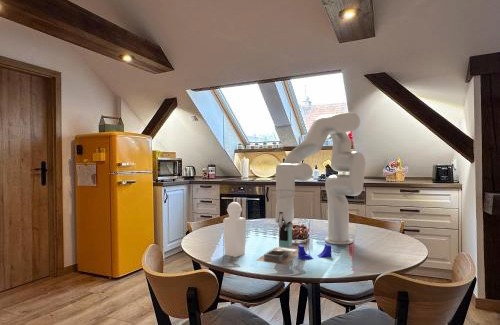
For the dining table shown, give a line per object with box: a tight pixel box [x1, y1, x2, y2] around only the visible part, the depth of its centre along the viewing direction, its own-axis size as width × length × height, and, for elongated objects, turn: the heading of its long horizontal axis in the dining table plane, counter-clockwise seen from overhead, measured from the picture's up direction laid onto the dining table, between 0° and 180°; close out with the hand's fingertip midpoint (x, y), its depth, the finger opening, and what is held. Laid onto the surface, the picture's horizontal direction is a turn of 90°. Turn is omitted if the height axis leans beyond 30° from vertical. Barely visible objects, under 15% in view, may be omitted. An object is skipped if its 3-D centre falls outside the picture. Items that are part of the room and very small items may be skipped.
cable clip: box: [297, 243, 332, 260], centre depth 120 cm, size 12×4×6 cm, turn 95°
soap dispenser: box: [222, 201, 247, 258], centre depth 125 cm, size 6×6×22 cm
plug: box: [278, 221, 294, 248], centre depth 129 cm, size 4×4×9 cm
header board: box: [256, 246, 298, 265], centre depth 123 cm, size 20×12×4 cm, turn 154°
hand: (285, 238), depth 129 cm, fingers closed on plug, 4 cm apart
